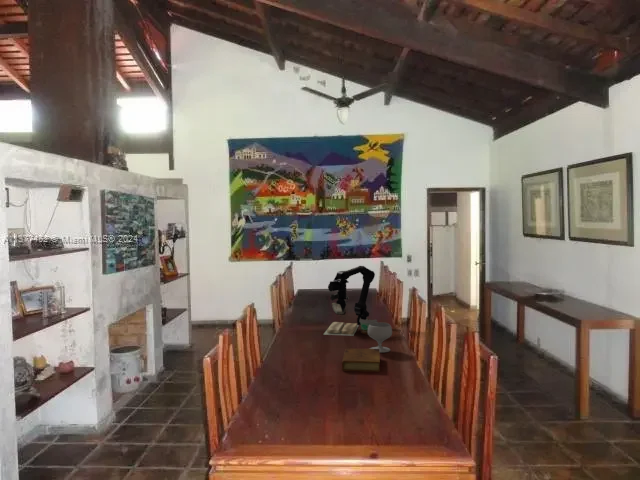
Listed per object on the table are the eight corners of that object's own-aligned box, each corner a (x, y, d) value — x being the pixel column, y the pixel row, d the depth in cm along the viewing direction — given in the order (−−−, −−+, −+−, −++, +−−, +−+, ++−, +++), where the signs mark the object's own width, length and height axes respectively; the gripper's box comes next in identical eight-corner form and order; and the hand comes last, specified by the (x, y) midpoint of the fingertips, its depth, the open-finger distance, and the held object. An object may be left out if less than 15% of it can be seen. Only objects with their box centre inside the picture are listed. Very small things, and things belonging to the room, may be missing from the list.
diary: (345, 358, 259) (344, 348, 259) (379, 359, 257) (379, 348, 257) (342, 371, 237) (341, 360, 236) (379, 372, 234) (379, 361, 234)
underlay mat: (358, 325, 336) (358, 325, 336) (353, 336, 307) (353, 335, 307) (331, 325, 340) (331, 324, 340) (323, 335, 311) (323, 334, 311)
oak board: (357, 326, 333) (357, 323, 333) (352, 334, 310) (352, 331, 310) (346, 325, 335) (346, 323, 335) (341, 333, 311) (341, 330, 311)
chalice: (393, 347, 277) (393, 322, 277) (390, 354, 264) (390, 327, 263) (369, 346, 281) (369, 321, 281) (365, 352, 268) (365, 326, 267)
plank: (344, 325, 335) (344, 322, 335) (339, 333, 312) (339, 330, 311) (333, 324, 337) (333, 321, 336) (327, 332, 313) (327, 329, 313)
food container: (356, 334, 311) (356, 319, 311) (360, 332, 317) (359, 317, 316) (374, 336, 305) (373, 321, 305) (377, 334, 311) (377, 319, 310)
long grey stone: (333, 316, 377) (346, 317, 378) (334, 310, 377) (346, 310, 377) (330, 306, 412) (342, 306, 413) (330, 300, 411) (342, 300, 412)
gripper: (332, 287, 339) (333, 309, 340) (328, 292, 321) (329, 314, 322) (348, 287, 337) (349, 309, 338) (345, 292, 319) (345, 315, 320)
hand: (343, 312), depth 330 cm, fingers closed
